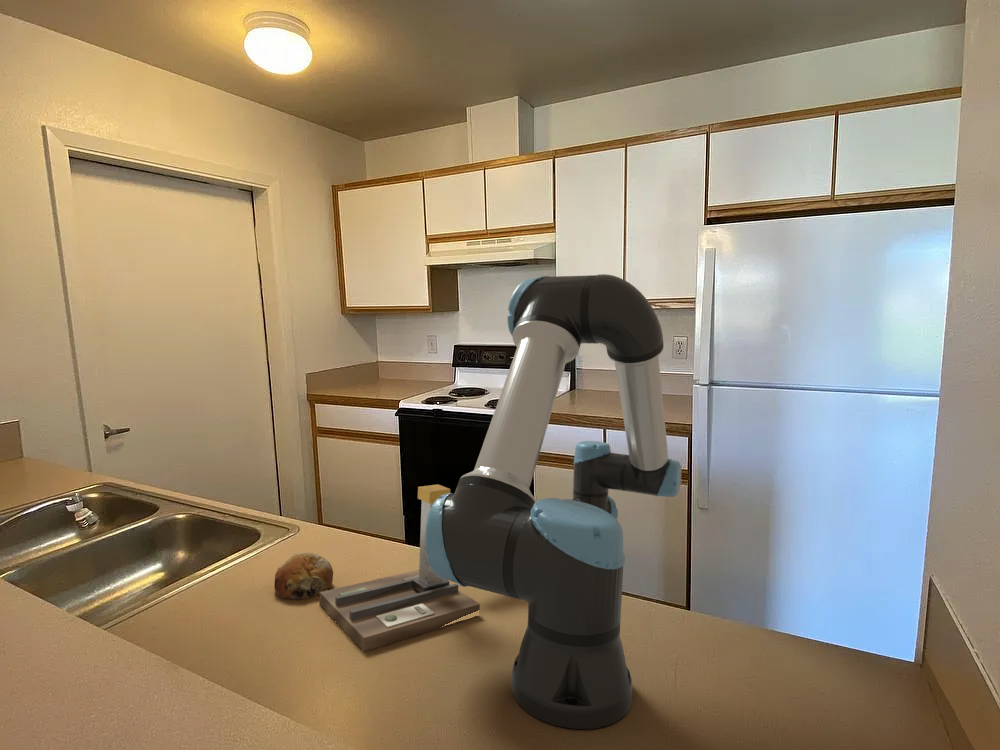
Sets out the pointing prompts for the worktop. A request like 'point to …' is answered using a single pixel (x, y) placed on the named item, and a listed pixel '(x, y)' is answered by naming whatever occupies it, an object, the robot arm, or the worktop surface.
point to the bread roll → (303, 576)
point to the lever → (426, 574)
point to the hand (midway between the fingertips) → (459, 540)
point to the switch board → (393, 609)
